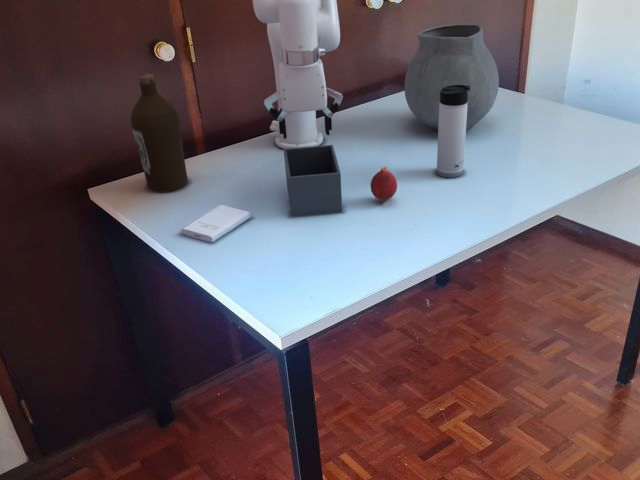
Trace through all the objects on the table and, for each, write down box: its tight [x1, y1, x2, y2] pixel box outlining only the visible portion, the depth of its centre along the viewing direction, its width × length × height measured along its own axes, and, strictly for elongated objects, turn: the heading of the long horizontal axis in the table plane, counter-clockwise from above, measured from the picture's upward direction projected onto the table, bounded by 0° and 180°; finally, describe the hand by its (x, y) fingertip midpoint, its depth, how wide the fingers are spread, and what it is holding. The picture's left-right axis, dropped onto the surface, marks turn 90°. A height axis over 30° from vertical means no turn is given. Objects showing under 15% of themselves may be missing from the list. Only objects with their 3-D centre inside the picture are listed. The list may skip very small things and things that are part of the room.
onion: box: [370, 165, 398, 203], centre depth 154 cm, size 6×6×8 cm
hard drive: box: [181, 204, 251, 243], centre depth 149 cm, size 2×8×12 cm
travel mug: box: [436, 85, 470, 179], centre depth 161 cm, size 6×7×20 cm
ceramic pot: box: [404, 23, 500, 130], centre depth 185 cm, size 24×24×25 cm
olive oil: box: [130, 73, 189, 193], centre depth 160 cm, size 11×11×25 cm
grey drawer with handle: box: [283, 144, 343, 217], centre depth 156 cm, size 19×11×9 cm, turn 8°
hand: (306, 134), depth 160 cm, fingers open, 9 cm apart
